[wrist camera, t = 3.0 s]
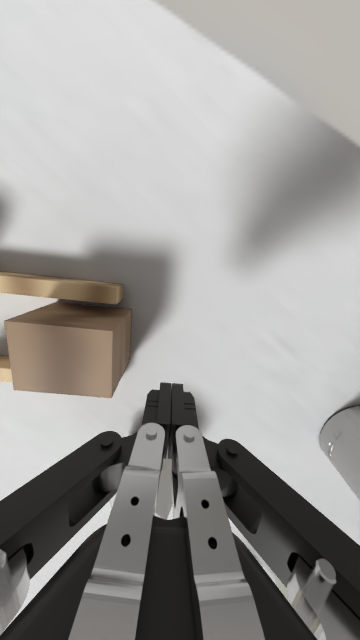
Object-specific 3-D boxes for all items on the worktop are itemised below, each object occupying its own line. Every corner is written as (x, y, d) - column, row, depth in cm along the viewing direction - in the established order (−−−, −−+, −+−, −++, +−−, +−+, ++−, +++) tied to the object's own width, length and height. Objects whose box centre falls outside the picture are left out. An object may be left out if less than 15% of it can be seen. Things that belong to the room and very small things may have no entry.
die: (129, 408, 27) (71, 494, 21) (189, 436, 23) (139, 552, 17) (146, 436, 32) (103, 512, 26) (197, 462, 28) (161, 560, 22)
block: (131, 309, 23) (112, 331, 16) (129, 359, 24) (111, 398, 18) (56, 301, 22) (4, 320, 15) (59, 352, 24) (13, 389, 17)
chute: (123, 268, 21) (103, 272, 16) (120, 389, 25) (103, 428, 20) (-39, 251, 21) (-123, 248, 15) (-16, 378, 25) (-74, 414, 19)
